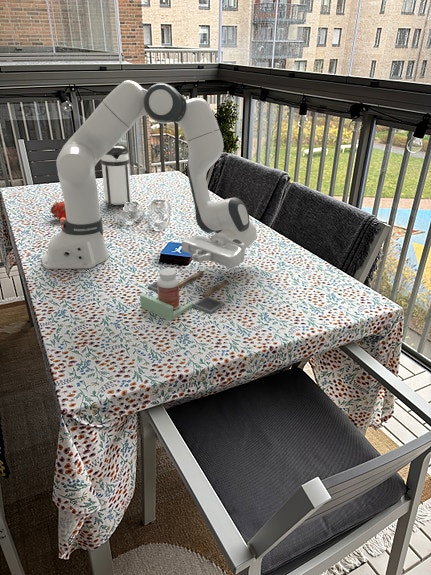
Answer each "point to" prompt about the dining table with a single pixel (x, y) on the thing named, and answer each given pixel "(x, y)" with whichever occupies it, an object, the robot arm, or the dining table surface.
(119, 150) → the coffee press
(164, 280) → the pill bottle
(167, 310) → the light green u-shaped piece
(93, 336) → the dining table surface
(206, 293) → the walnut track
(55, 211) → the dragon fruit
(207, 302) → the trap pits
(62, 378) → the dining table surface
